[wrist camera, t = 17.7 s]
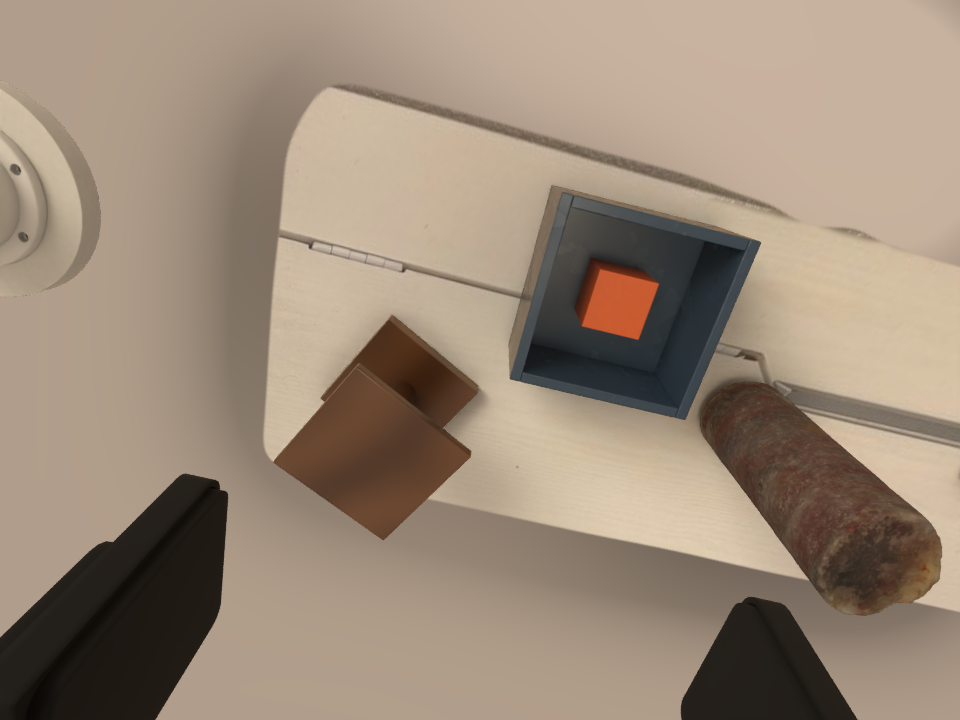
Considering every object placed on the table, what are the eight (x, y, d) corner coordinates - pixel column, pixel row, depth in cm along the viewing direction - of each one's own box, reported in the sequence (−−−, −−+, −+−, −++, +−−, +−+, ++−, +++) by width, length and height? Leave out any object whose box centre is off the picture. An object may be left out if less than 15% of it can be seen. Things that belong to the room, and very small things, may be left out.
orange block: (574, 310, 44) (581, 326, 40) (590, 257, 42) (600, 268, 38) (625, 322, 44) (638, 340, 40) (644, 270, 43) (659, 283, 38)
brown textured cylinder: (696, 378, 47) (824, 528, 28) (782, 368, 46) (972, 514, 27) (697, 453, 49) (814, 634, 31) (778, 444, 49) (948, 623, 30)
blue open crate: (508, 344, 46) (509, 379, 39) (551, 184, 41) (562, 191, 34) (656, 379, 47) (685, 420, 40) (717, 226, 42) (762, 242, 35)
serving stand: (325, 391, 49) (272, 462, 37) (392, 314, 46) (356, 366, 34) (409, 455, 51) (383, 541, 40) (478, 385, 48) (471, 456, 37)
